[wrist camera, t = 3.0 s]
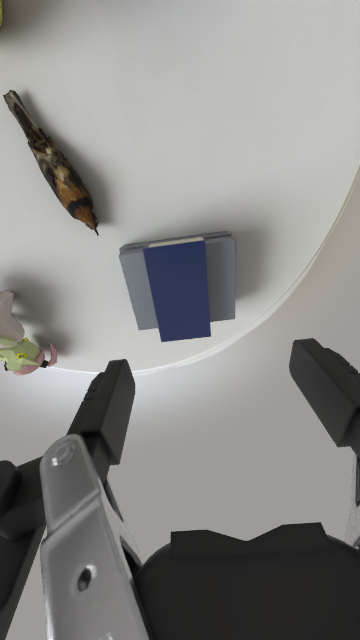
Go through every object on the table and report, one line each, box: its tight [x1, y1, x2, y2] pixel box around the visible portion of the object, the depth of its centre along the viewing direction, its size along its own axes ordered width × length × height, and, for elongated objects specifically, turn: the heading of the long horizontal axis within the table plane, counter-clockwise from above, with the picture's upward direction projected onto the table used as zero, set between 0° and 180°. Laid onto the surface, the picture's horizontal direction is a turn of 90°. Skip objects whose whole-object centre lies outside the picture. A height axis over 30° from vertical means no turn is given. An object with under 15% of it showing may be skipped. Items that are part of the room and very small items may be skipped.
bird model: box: [3, 90, 99, 236], centre depth 21 cm, size 3×14×3 cm, turn 23°
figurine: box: [0, 291, 57, 375], centre depth 29 cm, size 9×7×15 cm
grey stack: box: [119, 231, 236, 330], centre depth 26 cm, size 13×10×5 cm
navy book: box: [142, 237, 211, 342], centre depth 23 cm, size 6×11×2 cm, turn 7°
